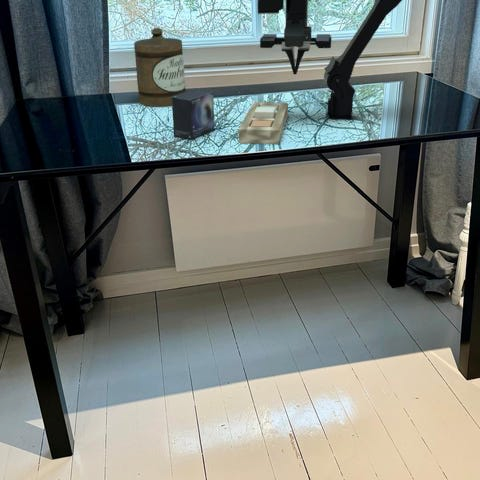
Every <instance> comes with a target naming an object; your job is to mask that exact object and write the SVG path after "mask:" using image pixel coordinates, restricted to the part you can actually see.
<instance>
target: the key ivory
mask: <svg viewBox="0 0 480 480" xmlns="http://www.w3.org/2000/svg"><path fill="white" fill-rule="evenodd" d="M254 118H273V119H275V107H257V108H256V110H255V112H254Z"/></svg>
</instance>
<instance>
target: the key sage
mask: <svg viewBox="0 0 480 480" xmlns="http://www.w3.org/2000/svg"><path fill="white" fill-rule="evenodd" d="M260 107H275V111H278V106H276V105H260Z"/></svg>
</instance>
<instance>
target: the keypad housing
mask: <svg viewBox="0 0 480 480" xmlns="http://www.w3.org/2000/svg"><path fill="white" fill-rule="evenodd" d="M260 105H276V106H278V111H275V119H273V118H254V112H255V110H256V108H257V107H260ZM288 113H289V103H288V102H264V101H263V102H261V101H259V102H258V101H257V102H255V101H254V102H253V103H252V104H251V105H250V108H249V110H248V112H247V113H246V115H245V116H244V119H243V120H242V122H241V124H240V126H239V127H238V143H239V144H263V145H265V144H266V145H272V144H273V145H279V144H280V141H281V139H282V138H281V137H282V134H283V132H284V128H285V126H286V121H287V118H288V115H289V114H288ZM253 120H260V121H272V127H252V126H251V124H252V122H253Z"/></svg>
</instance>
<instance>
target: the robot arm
mask: <svg viewBox="0 0 480 480" xmlns="http://www.w3.org/2000/svg"><path fill="white" fill-rule="evenodd" d="M284 1H285V4H284ZM402 1H403V0H374V2H373V5H372V7H371V9H370V10H369V12H368V13H367V15H366V17H365V18H364V20H363V21H362V23H361V24H360V26H359V27H358V29H357V31H356V32H355V34H354V35H353V37H351V40H350V42H349V43H348V45H347V46H346V48H345V49H344V50H343V52H342V54H340V55H339V57H337V58H336V57H334V56H332V57H331V58H330V61H329V62H328V64H327V66H326V67H324V68H323V69H324V73H323V79H324V82H325V84H326V85H327V87H328V89H329V90H331V92H330V96H329V98H328V99H327V116H328V119H333V120H334V119H335V120H337V119H338V120H353V108H354V107H353V106H354V96H355V93H356V89H355V87H354V86H353V85H352V84H351V83H350V79H351V77H352V74H353V72H354V68H355V64H356V62H357V61H358V60H359V58H360V57H361V55H362V53H363V52H364V50H365V48H367V46H368V44H369V43H370V41H371V40H372V38H373V37H374V35H375V33H376V32H377V31H378V29H379V27H380V26H381V24H382V23H383V22H384V20H385V18H386V17H387V16H388V15H389V14H390V13H391V12H392V11H393V10H394V9H395V8H397V7H398V6H399V4H400V3H401V2H402ZM284 5H285V25H284V30H283V31H284V32H283V34H284V35H283V37H279V36H278V35H277V34H276V33H275V34H274V33H264V34H263V35H262V36H261V37H260V40H259V48H260V49H272V48H273V47H274V46H275V45H278V46H279V45H281V49H280V50H281V52H285V54H286V55H287V58H288V60H289V63H290V66H291V70H292V74H293V75H297V73H298V71H299V67H300V65H301V61H302V59H303V57H304V55H305V52H309V51H310V50H311V49H310V48H311V45H312V46H316V47H317V48H318V49H331V48H332V35H331V34H329V33H328V34H327V33H326V34H325V33H324V34H323V33H322V34H318V33H317V34H316V36H315V37H313V36H312V31H313V30H312V29H313V28H312V26H308V12H309V11H308V9H309V7H308V6H309V0H257V15H264V14H265V15H269V14H271V15H272V14H280V11H282V10H284ZM295 47H296V48H298V49H297V53H296V54H295ZM295 55H296V57H295Z"/></svg>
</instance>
